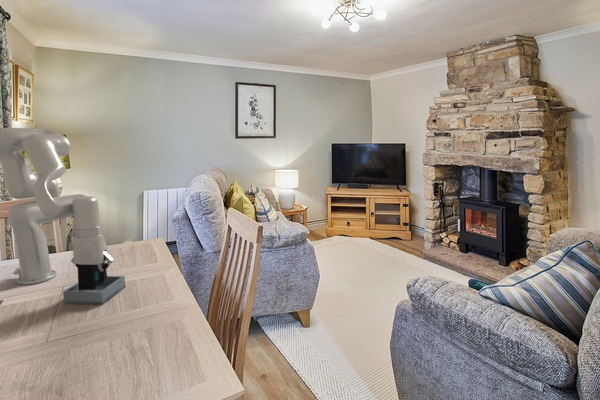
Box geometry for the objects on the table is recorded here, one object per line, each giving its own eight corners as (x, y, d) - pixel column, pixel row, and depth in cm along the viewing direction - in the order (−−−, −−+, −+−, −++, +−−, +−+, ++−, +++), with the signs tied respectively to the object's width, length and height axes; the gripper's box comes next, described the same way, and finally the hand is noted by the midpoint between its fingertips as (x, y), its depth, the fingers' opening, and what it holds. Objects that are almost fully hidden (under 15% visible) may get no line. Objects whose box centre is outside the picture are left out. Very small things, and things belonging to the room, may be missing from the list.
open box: (64, 303, 113) (62, 291, 113) (91, 286, 127) (90, 275, 126) (102, 304, 113) (101, 292, 112) (125, 287, 126) (124, 276, 125)
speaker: (91, 291, 114) (89, 262, 113) (78, 290, 115) (75, 261, 114) (109, 284, 121) (107, 256, 120) (96, 283, 123) (94, 256, 122)
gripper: (56, 234, 112) (64, 284, 115) (105, 235, 111) (111, 285, 114) (73, 228, 120) (79, 275, 123) (118, 229, 119) (124, 276, 122)
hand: (94, 280), depth 119 cm, fingers closed on speaker, 5 cm apart
